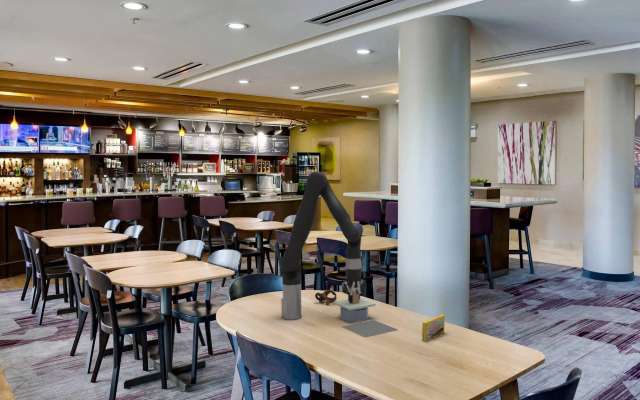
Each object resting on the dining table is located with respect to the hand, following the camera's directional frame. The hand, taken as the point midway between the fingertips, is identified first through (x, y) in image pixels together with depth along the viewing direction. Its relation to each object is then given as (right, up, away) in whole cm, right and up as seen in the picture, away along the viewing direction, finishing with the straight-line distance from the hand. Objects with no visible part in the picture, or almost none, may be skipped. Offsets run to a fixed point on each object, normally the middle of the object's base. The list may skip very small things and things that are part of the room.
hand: (354, 301), depth 260 cm
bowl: (0, -9, +1) cm, 9 cm away
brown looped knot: (-14, -7, +32) cm, 35 cm away
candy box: (+33, -10, -29) cm, 45 cm away
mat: (+6, -10, -17) cm, 20 cm away
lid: (0, -2, 0) cm, 2 cm away
